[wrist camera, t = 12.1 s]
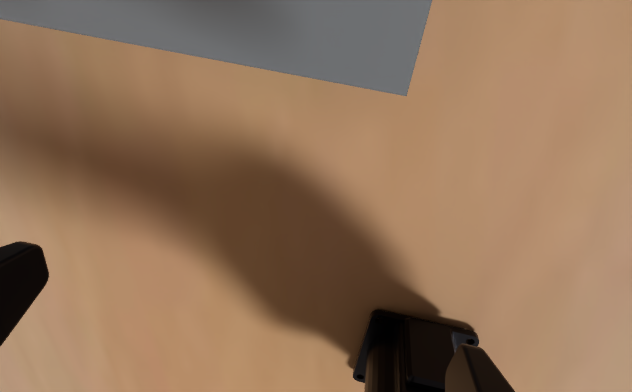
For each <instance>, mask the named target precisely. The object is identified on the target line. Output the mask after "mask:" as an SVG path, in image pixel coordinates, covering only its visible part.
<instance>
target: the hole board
mask: <svg viewBox="0 0 632 392" xmlns="http://www.w3.org/2000/svg"><path fill="white" fill-rule="evenodd" d="M431 3H432V0H0V19H3V20H8V21H13V22H19V23H24V24H29V25H34V26H40V27H45V28H50V29H55V30H61V31H66V32H71V33H76V34H82V35H87V36H92V37H98V38H103V39H108V40H113V41H119V42H124V43H129V44H134V45H140V46H145V47H150V48H155V49H161V50H166V51H171V52H176V53H182V54H187V55H192V56H198V57H203V58H208V59H213V60H219V61H224V62H229V63H234V64H240V65H245V66H250V67H255V68H261V69H266V70H271V71H277V72H282V73H287V74H292V75H298V76H303V77H308V78H313V79H319V80H324V81H329V82H334V83H340V84H345V85H350V86H356V87H361V88H366V89H371V90H377V91H382V92H387V93H392V94H398V95H403V96H407V92H408V88H409V85H410V81H411V77H412V73H413V70H414V66H415V62H416V59H417V55H418V51H419V47H420V44H421V40H422V36H423V32H424V29H425V25H426V21H427V17H428V14H429V10H430V6H431Z"/></svg>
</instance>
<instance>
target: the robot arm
mask: <svg viewBox="0 0 632 392" xmlns="http://www.w3.org/2000/svg"><path fill="white" fill-rule="evenodd" d="M48 278H49V272H48V268H47V264H46V261H45V257H44V253H43V250H42V248H41V247H40V246H38V245H36V244H31V243H27V242H15V243H12V244H9V245H6V246H3V247H0V346H1V345H2V344H3V342H4V341H5V340H6V338H7V337H8V336H9V334H10V333H11V332H12V330H13V329H14V328H15V326H16V325H17V323H18V322H19V321H20V319H21V318H22V317H23V315H24V314H25V312H26V311H27V310H28V308H29V307H30V306H31V304H32V303H33V302H34V300H35V299H36V297H37V296H38V295H39V293H40V292H41V291H42V289H43V288H44V286H45V285H46V283H47V281H48ZM378 318H381V319H378ZM478 344H479V339H478V335H477V333H475V332H473V331H470V330H466V329H461V328H457V327H453V326H448V325H444V324H440V323H435V322H431V321H427V320H422V319H418V318H413V317H409V316H405V315H400V314H396V313H392V312H387V311H383V310H374V311H373V312H372V313H371V315H370V319H369V322H368V325H367V328H366V331H365V335H364V338H363V341H362V344H361V348H360V351H359V354H358V357H357V360H356V364H355V367H354V370H353V378H354V379H355V380H357V381H359V382H363V383H365V392H515V391H514V389H513V388H512V387H511V385H510V384H509V383H508V381H507V380H506V379H505V377H504V376H503V375H502V373H501V372H500V371H499V369H498V368H497V367H496V365H495V364H494V363H493V361H492V360H491V359H490V357H489V356H488V355H487V353H486V352H485V351H484V350H483V349H482V348H480V347H477V346H478Z"/></svg>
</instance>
